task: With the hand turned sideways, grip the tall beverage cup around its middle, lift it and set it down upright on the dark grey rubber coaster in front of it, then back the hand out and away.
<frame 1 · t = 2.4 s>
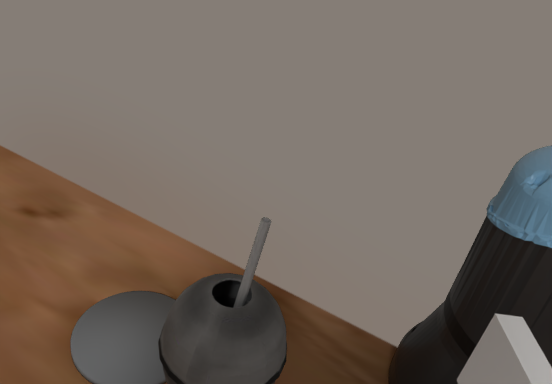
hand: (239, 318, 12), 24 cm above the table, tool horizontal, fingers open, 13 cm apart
coaster: (135, 339, 40), on the table
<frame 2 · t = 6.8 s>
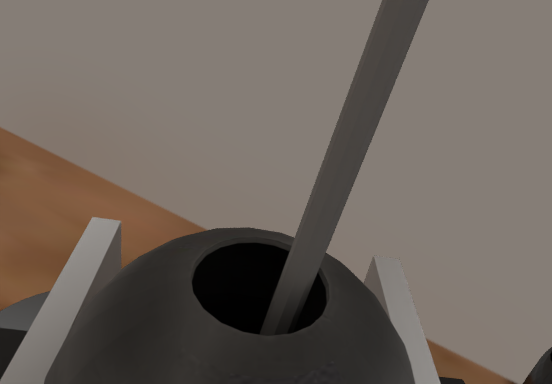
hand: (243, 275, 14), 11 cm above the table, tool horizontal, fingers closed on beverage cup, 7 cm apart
coaster: (69, 372, 22), on the table
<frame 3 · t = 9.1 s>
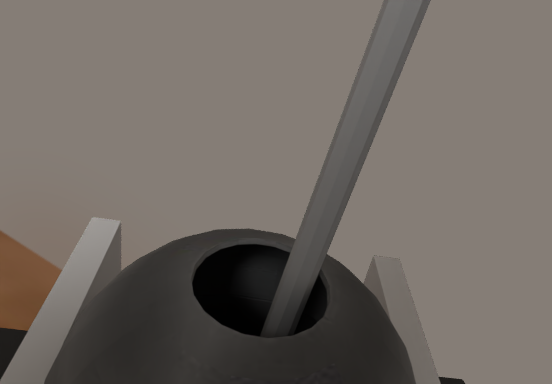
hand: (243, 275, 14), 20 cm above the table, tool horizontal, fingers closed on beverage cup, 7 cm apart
when the fingers open (13 cm above the table, at t = 11.3 s): beverage cup drops 1 cm, resting on coaster.
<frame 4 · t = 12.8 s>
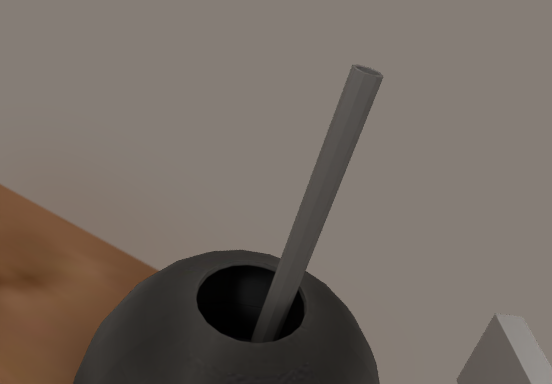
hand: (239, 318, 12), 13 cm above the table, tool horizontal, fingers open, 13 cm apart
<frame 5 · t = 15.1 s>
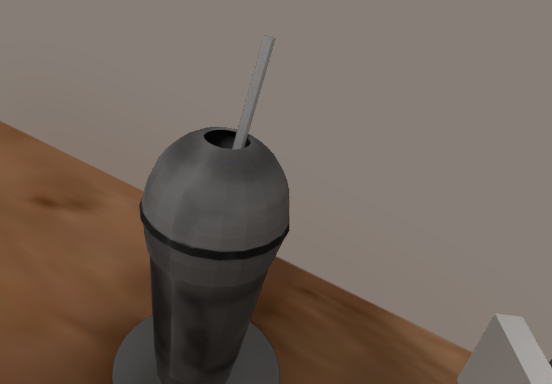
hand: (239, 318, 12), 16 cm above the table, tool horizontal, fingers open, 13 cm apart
coaster: (197, 371, 30), on the table
beverage cup: (193, 367, 29), resting on coaster
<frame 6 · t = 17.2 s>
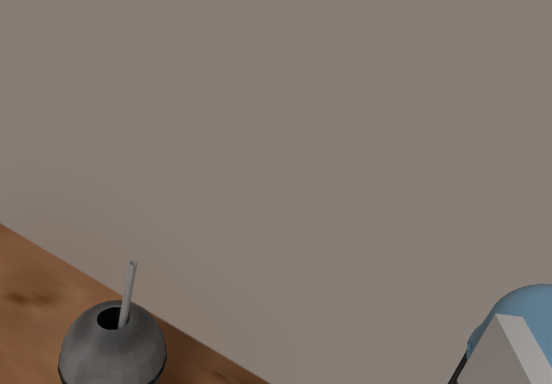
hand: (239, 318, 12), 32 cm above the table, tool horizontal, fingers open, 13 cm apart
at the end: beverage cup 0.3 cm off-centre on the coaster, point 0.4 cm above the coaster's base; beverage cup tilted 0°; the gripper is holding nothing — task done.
